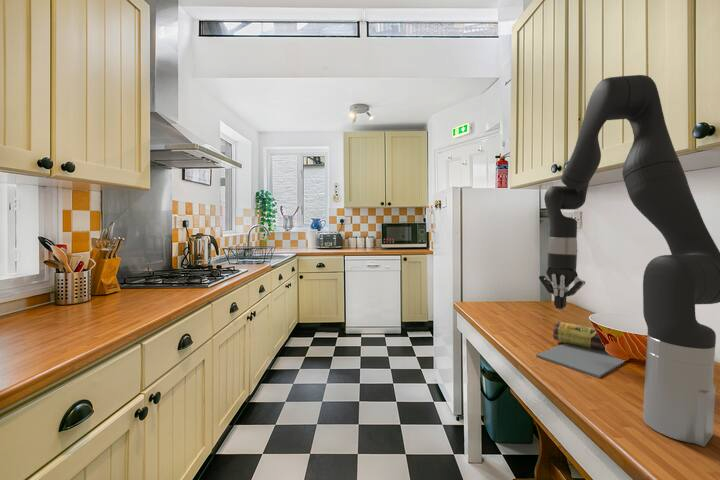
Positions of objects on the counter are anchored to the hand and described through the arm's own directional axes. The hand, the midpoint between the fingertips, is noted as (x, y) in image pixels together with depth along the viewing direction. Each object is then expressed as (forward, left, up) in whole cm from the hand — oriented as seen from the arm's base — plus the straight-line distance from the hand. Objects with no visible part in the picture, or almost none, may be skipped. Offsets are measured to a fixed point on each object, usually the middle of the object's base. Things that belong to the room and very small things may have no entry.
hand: (560, 308), depth 102 cm
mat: (-7, 0, -13) cm, 15 cm away
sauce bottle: (+5, -6, -9) cm, 12 cm away
